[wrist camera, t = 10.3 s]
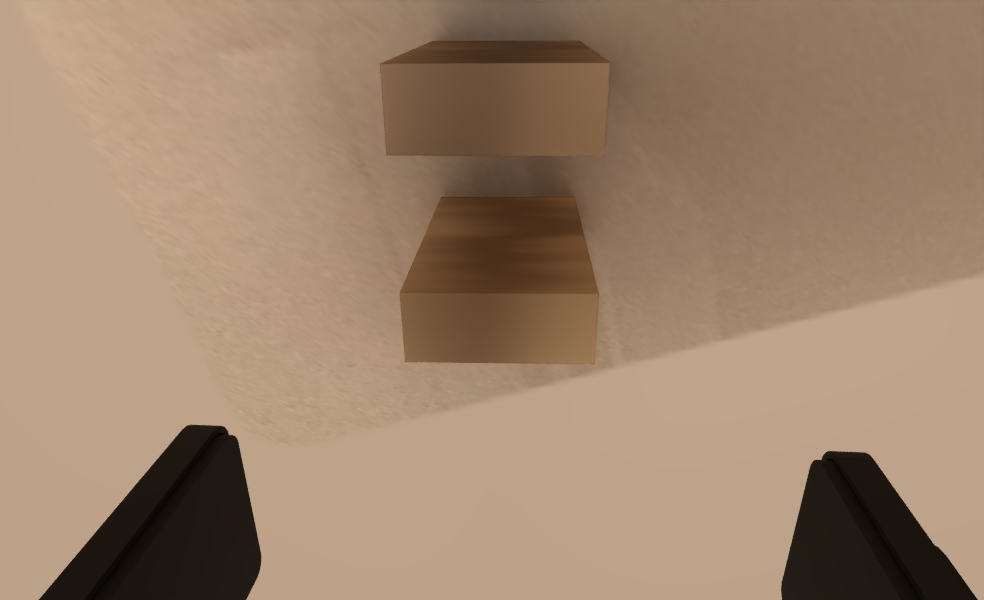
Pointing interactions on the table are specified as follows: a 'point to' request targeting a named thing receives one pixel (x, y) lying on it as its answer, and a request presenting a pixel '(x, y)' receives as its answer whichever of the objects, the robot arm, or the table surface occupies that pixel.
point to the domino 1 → (496, 99)
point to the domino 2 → (501, 284)
